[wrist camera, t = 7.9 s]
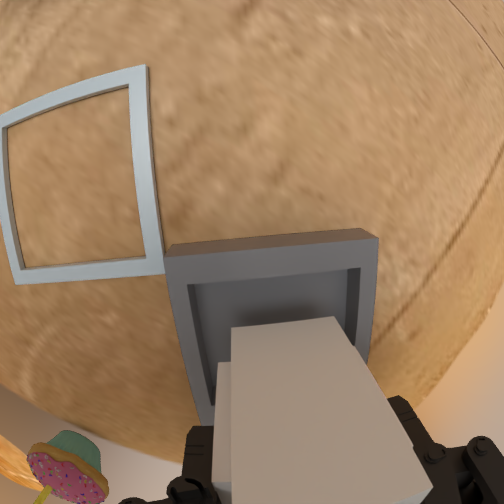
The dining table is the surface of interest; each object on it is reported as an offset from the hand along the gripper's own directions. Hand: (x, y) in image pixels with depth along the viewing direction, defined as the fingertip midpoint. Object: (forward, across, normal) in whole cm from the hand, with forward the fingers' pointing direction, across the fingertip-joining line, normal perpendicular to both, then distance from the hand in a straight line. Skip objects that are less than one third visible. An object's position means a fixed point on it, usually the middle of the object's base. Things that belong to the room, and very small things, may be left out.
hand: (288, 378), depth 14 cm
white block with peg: (+1, 0, 0) cm, 1 cm away
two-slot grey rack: (+5, 0, -5) cm, 7 cm away
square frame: (+5, -12, +10) cm, 17 cm away
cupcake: (+5, -20, -14) cm, 25 cm away
